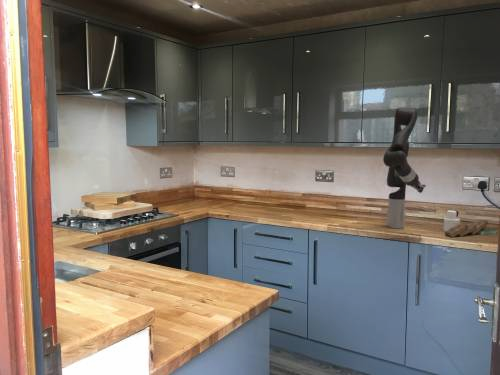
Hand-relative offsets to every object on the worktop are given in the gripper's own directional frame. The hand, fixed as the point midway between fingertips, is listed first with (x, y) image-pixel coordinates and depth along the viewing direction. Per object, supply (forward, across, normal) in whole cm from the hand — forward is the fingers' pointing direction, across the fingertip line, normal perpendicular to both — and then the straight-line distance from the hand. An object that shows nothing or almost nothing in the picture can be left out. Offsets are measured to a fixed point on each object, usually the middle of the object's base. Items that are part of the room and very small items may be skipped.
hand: (420, 191), depth 224 cm
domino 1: (+22, -15, +10) cm, 28 cm away
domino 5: (+40, -18, -3) cm, 44 cm away
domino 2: (+27, -16, +6) cm, 32 cm away
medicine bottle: (+37, -7, +4) cm, 38 cm away
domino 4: (+40, -19, -6) cm, 45 cm away
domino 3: (+35, -17, 0) cm, 39 cm away
